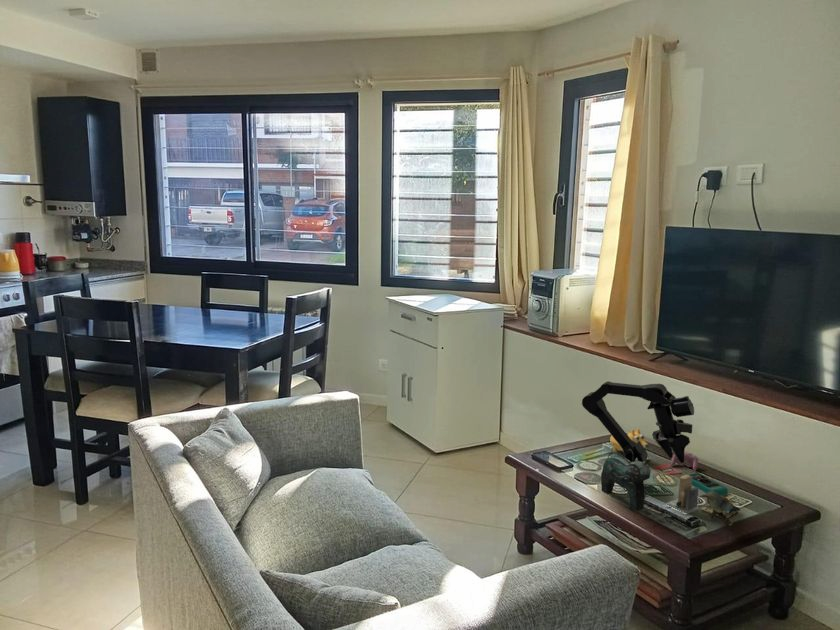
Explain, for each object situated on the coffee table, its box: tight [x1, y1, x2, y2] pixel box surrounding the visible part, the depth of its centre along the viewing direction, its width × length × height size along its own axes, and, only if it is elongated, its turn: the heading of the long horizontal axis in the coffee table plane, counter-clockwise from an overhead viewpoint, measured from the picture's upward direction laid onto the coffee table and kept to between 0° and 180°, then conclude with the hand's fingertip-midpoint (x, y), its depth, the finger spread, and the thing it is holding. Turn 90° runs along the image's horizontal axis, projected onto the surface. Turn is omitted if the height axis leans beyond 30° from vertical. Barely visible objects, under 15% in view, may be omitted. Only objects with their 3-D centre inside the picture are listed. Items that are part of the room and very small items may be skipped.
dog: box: [609, 427, 650, 453], centre depth 267 cm, size 8×20×13 cm, turn 28°
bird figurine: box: [698, 491, 741, 527], centre depth 214 cm, size 13×10×20 cm
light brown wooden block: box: [676, 474, 693, 506], centre depth 222 cm, size 2×6×10 cm, turn 122°
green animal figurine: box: [600, 449, 652, 512], centre depth 227 cm, size 20×6×20 cm, turn 26°
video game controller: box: [670, 451, 699, 472], centre depth 257 cm, size 10×5×7 cm, turn 58°
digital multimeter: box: [688, 472, 729, 496], centre depth 240 cm, size 7×15×3 cm, turn 20°
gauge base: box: [666, 486, 700, 514], centre depth 223 cm, size 7×7×8 cm
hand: (676, 460), depth 232 cm, fingers open, 9 cm apart
